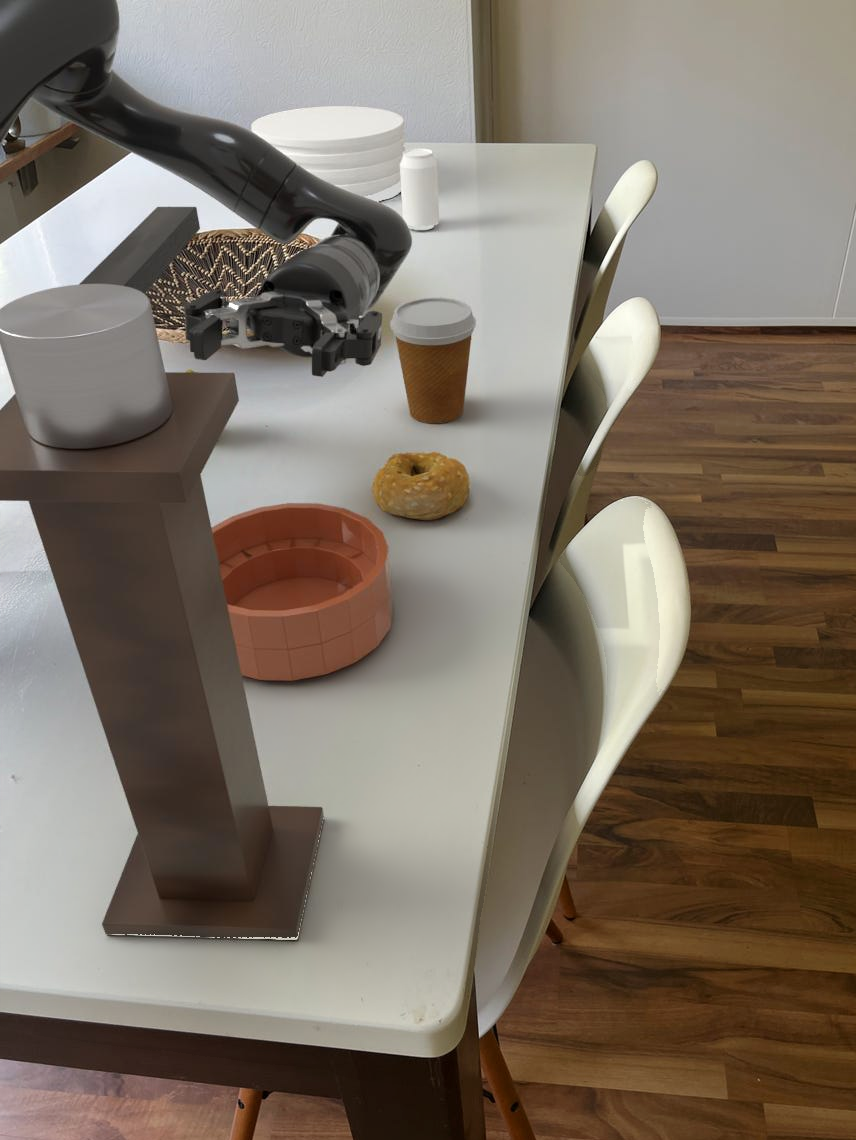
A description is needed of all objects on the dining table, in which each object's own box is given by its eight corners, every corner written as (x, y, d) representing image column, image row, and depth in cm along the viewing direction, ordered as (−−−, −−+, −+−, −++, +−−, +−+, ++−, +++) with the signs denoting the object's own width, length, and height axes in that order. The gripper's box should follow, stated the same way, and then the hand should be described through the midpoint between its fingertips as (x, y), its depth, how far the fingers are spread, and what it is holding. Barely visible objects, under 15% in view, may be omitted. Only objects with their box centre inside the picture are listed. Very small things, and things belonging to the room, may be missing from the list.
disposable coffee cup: (442, 438, 114) (439, 334, 107) (379, 415, 119) (371, 314, 112) (493, 407, 120) (493, 307, 113) (431, 387, 125) (426, 289, 117)
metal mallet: (3, 449, 44) (-34, 337, 41) (138, 293, 59) (118, 202, 56) (149, 450, 44) (122, 338, 41) (247, 293, 59) (233, 202, 56)
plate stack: (355, 161, 211) (350, 99, 204) (436, 189, 194) (433, 123, 187) (234, 185, 198) (224, 120, 191) (308, 218, 180) (300, 148, 173)
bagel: (474, 473, 108) (473, 432, 105) (466, 529, 99) (465, 486, 96) (381, 471, 109) (377, 430, 106) (365, 526, 100) (361, 484, 97)
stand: (105, 936, 63) (-79, 469, 43) (153, 814, 71) (15, 370, 51) (298, 941, 63) (202, 472, 42) (324, 818, 70) (254, 372, 50)
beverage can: (438, 232, 173) (435, 156, 166) (401, 233, 173) (397, 156, 166) (440, 221, 178) (437, 147, 170) (404, 222, 178) (400, 147, 171)
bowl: (174, 684, 82) (156, 614, 77) (224, 567, 95) (211, 501, 90) (381, 688, 81) (374, 618, 77) (402, 569, 94) (397, 504, 90)
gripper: (398, 354, 87) (354, 419, 73) (235, 331, 88) (162, 391, 74) (403, 263, 83) (358, 314, 69) (233, 240, 84) (155, 286, 70)
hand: (256, 354), depth 72 cm, fingers open, 8 cm apart
